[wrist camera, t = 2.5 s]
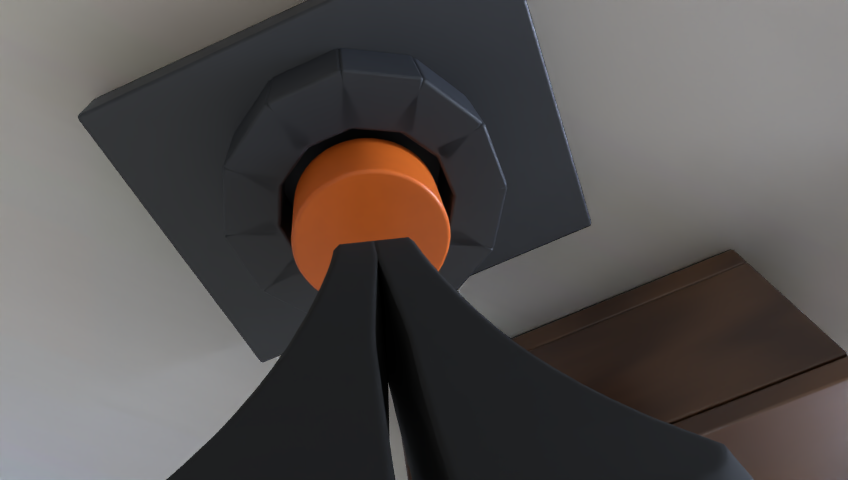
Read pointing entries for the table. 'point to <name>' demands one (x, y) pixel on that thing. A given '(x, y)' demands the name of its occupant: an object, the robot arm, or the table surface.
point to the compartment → (685, 341)
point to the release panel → (337, 122)
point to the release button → (365, 204)
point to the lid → (786, 427)
